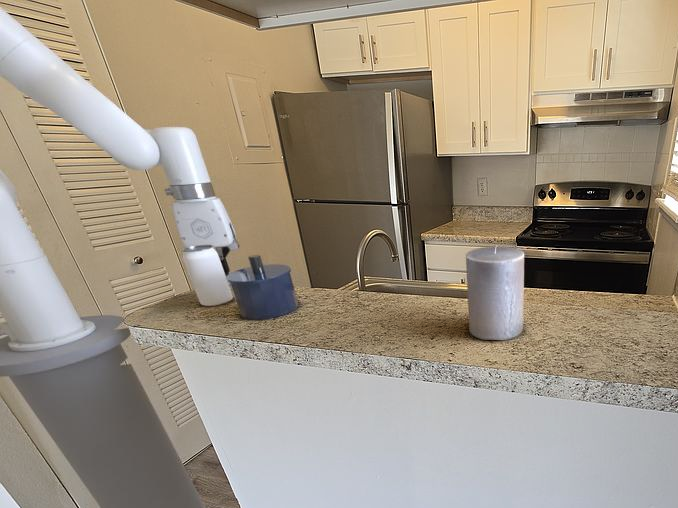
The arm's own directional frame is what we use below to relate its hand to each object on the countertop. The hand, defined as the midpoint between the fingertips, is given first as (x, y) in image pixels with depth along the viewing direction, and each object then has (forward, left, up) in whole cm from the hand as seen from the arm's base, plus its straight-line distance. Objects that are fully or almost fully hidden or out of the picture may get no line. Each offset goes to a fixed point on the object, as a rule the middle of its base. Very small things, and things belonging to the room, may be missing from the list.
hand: (223, 275), depth 96 cm
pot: (+13, -17, -4) cm, 22 cm away
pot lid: (+13, -17, +4) cm, 22 cm away
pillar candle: (+56, -41, -4) cm, 69 cm away
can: (0, -8, -4) cm, 9 cm away
